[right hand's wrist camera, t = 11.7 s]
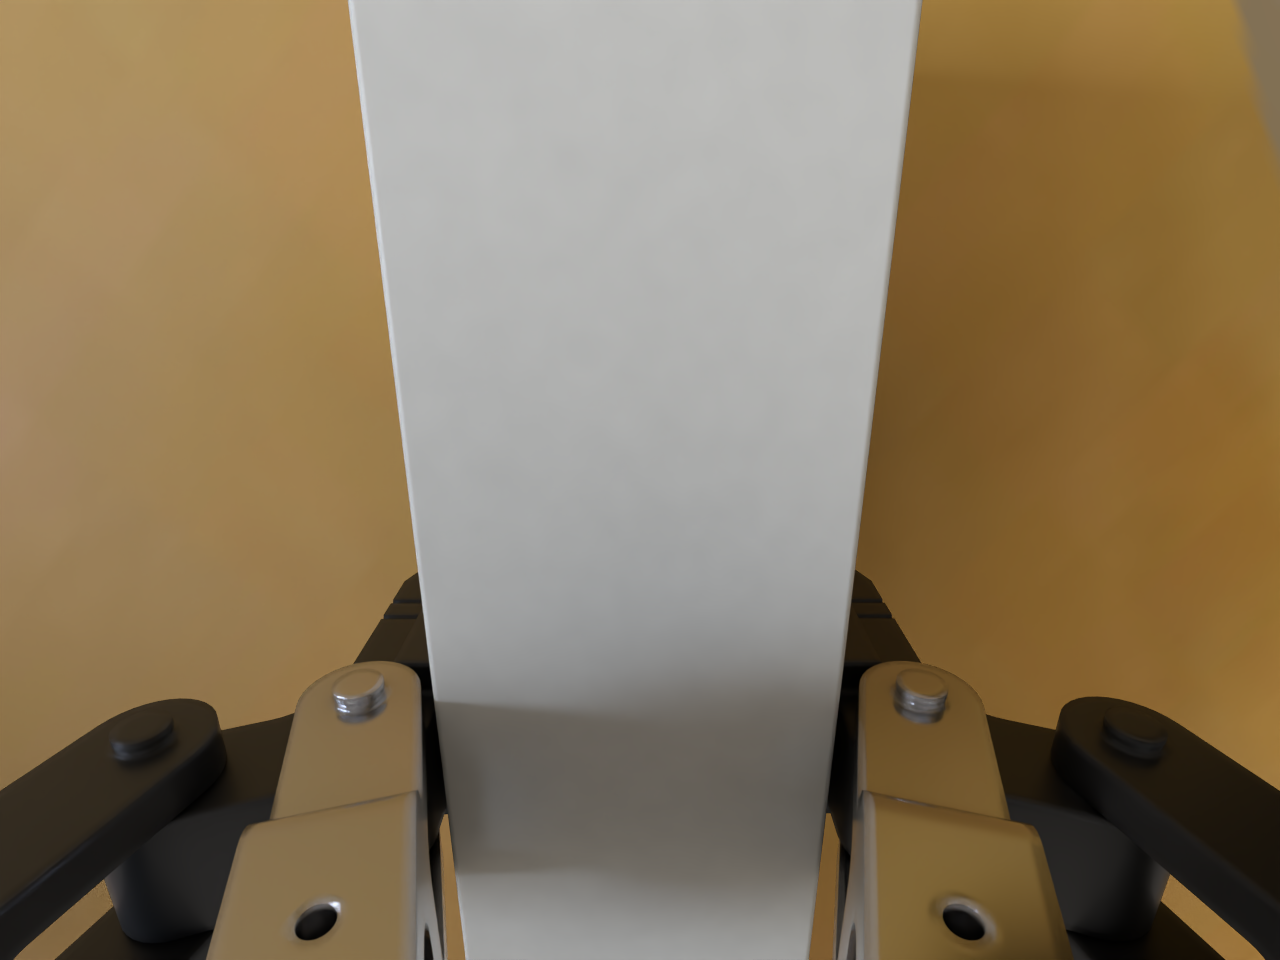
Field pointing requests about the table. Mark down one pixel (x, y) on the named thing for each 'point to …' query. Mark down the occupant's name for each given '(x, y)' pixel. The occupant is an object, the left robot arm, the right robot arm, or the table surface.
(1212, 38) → the table surface
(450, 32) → the bar
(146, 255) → the table surface
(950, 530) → the table surface
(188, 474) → the table surface
